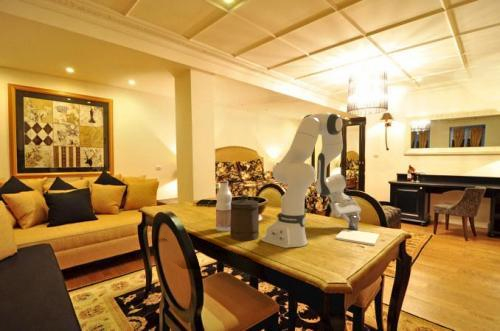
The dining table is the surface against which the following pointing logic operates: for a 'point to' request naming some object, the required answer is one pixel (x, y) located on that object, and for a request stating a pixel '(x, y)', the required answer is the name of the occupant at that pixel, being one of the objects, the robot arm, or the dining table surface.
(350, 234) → the cream board
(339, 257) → the dining table surface
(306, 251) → the dining table surface
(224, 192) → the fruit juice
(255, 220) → the wooden container
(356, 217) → the steel tin
